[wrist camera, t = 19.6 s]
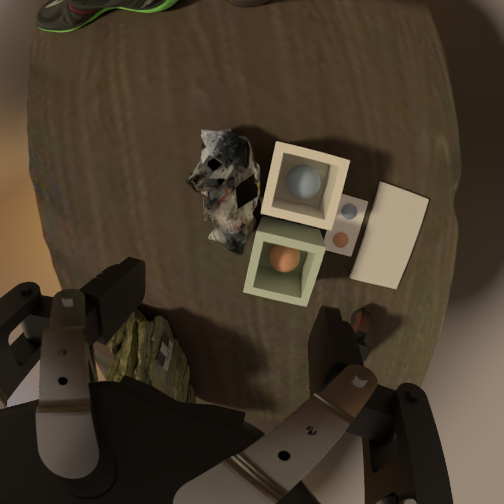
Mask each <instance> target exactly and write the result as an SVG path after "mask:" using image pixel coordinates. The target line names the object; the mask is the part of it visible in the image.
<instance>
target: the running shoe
mask: <svg viewBox="0 0 504 504" xmlns="http://www.w3.org/2000/svg"><path fill="white" fill-rule="evenodd" d="M177 1H178V0H49V1H48V2H47V3H46V4H45V5H44V6H43V7H42V8H41V9H40V10H39V12H38V14H37V16H36V22H37V26H38V27H39V28H40V29H42V30H46V31H53V32H69V31H73V30H75V29H78V28H80V27H82V26H84V25H85V24H87V23H88V22H90V21H92V20H94V19H95V18H97V17H98V16H99V15H100V14H101V13H103V12H105V11H107V10H110V9H113V8H120V9H126V10H131V11H137V12H144V13H153V12H160V11H163V10H166V9H168V8H169V7H171V6H172V5H174V4H175V3H176V2H177Z"/></svg>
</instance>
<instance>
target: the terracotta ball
mask: <svg viewBox="0 0 504 504" xmlns="http://www.w3.org/2000/svg"><path fill="white" fill-rule="evenodd" d="M268 260H269V263H270V265H271V266H272V267H273V268H274V269H275V270H276V271H279V272H290V271H292V270H293V269H295V268H296V266H297V265H298V263H299V260H300V253H299V250H298V249H295V248H290V247H286V246H282V245H278V244H274V245H273V246H272V247H271V248H270V250H269V253H268Z"/></svg>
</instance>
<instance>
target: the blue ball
mask: <svg viewBox="0 0 504 504" xmlns="http://www.w3.org/2000/svg"><path fill="white" fill-rule="evenodd" d="M320 185H321V179H320V176H319V174H318V172H317V171H316V170H315V169H314V168H313V167H311V166H308V165H299V166H296V167H294V168H293V169H292V170H291V171H290V172H289V174H288V176H287V187H288V189H289V191H290V192H291V193H292V194H293V195H294V196H296V197H298V198H301V199H307V198H310V197H312V196H314V195H315V194H316V193H317V192H318V191H319V189H320Z"/></svg>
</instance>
